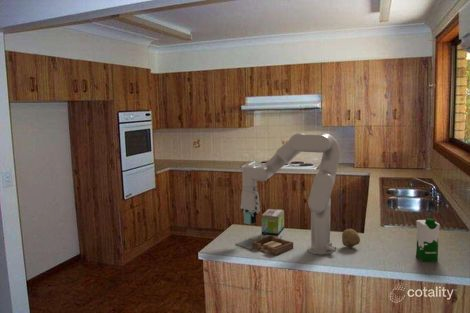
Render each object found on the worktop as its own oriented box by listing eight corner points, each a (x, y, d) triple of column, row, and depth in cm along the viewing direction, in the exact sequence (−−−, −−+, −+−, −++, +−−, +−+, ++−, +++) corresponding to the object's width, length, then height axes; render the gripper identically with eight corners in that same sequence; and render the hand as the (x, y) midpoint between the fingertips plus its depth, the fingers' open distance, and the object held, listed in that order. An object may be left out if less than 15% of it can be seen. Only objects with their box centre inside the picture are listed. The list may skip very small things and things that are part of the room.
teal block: (255, 222, 219) (255, 212, 218) (250, 224, 216) (249, 213, 215) (249, 221, 222) (249, 210, 221) (244, 223, 219) (243, 212, 218)
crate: (293, 248, 212) (293, 242, 212) (275, 256, 203) (275, 249, 202) (270, 241, 224) (270, 235, 223) (252, 248, 214) (252, 242, 214)
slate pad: (266, 244, 220) (266, 243, 220) (251, 250, 212) (251, 249, 212) (250, 239, 229) (250, 238, 229) (235, 244, 221) (235, 243, 221)
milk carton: (422, 262, 190) (423, 220, 187) (413, 255, 199) (414, 215, 196) (440, 261, 190) (442, 220, 187) (430, 254, 199) (432, 214, 196)
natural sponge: (361, 246, 213) (361, 228, 212) (357, 251, 205) (357, 232, 204) (344, 243, 217) (344, 225, 216) (339, 249, 210) (339, 230, 209)
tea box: (278, 242, 223) (278, 216, 221) (261, 240, 226) (260, 215, 224) (284, 234, 237) (284, 209, 235) (267, 232, 240) (267, 208, 238)
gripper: (266, 190, 213) (266, 223, 215) (243, 185, 225) (243, 217, 228) (256, 192, 208) (256, 227, 210) (233, 187, 220) (234, 220, 222)
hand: (250, 221), depth 219 cm, fingers closed on teal block, 4 cm apart
